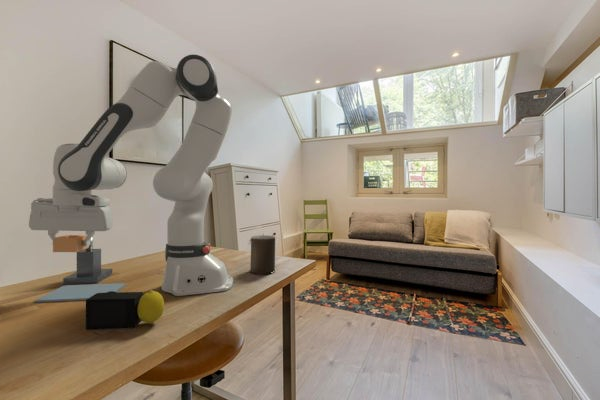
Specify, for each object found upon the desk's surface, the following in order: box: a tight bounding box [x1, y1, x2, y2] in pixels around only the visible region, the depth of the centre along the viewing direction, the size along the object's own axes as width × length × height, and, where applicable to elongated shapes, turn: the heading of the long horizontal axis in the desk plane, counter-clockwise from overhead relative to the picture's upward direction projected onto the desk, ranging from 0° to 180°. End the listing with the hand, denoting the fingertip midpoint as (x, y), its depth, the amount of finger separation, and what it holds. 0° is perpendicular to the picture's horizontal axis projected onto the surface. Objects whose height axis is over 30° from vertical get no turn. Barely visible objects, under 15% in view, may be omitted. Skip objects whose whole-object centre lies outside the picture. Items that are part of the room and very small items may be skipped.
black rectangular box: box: [85, 291, 144, 331], centre depth 64 cm, size 10×5×7 cm, turn 97°
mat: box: [34, 282, 127, 303], centre depth 82 cm, size 18×12×1 cm, turn 100°
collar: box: [52, 234, 89, 253], centre depth 81 cm, size 6×6×4 cm
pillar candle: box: [250, 233, 276, 275], centre depth 109 cm, size 10×10×15 cm
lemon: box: [137, 289, 165, 325], centre depth 64 cm, size 6×6×8 cm
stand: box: [62, 236, 113, 285], centre depth 95 cm, size 10×10×14 cm
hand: (71, 245), depth 81 cm, fingers closed on collar, 6 cm apart
